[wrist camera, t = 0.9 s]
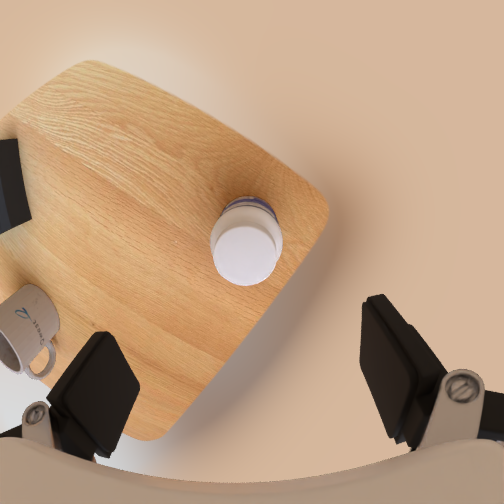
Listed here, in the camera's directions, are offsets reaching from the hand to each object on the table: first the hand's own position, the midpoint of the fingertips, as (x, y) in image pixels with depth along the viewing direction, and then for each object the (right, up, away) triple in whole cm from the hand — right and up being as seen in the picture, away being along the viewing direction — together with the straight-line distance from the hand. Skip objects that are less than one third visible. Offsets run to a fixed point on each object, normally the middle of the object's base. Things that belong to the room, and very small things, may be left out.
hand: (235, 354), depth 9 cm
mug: (-31, -7, +21) cm, 38 cm away
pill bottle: (0, +6, +16) cm, 17 cm away
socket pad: (-33, +12, +14) cm, 38 cm away
